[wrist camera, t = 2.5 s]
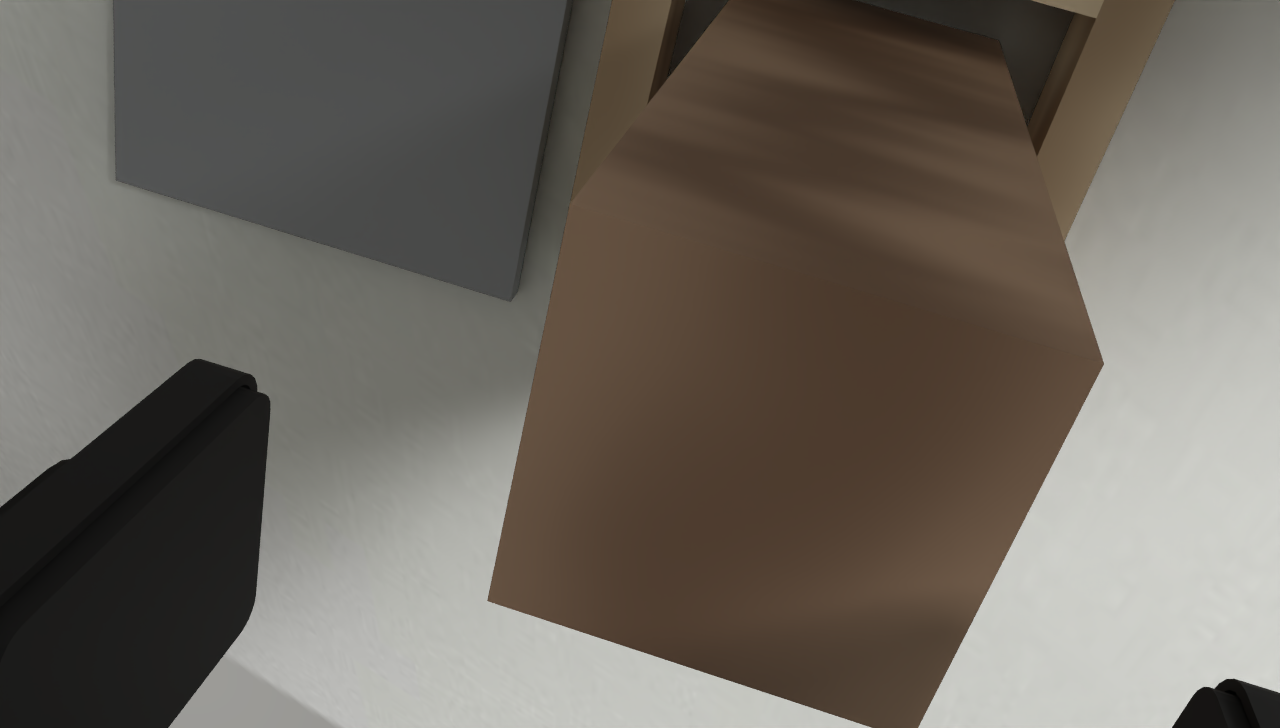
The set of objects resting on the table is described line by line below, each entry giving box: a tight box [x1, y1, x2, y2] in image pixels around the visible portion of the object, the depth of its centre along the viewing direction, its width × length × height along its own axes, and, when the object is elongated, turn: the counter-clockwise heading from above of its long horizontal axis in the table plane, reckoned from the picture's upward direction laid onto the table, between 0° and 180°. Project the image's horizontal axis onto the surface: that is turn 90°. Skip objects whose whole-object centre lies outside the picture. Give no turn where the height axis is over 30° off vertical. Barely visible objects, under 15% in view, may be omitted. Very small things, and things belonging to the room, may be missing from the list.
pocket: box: [550, 0, 1175, 297], centre depth 24 cm, size 10×10×2 cm
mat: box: [113, 0, 573, 301], centre depth 27 cm, size 11×11×1 cm
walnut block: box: [487, 0, 1104, 728], centre depth 19 cm, size 6×6×15 cm
